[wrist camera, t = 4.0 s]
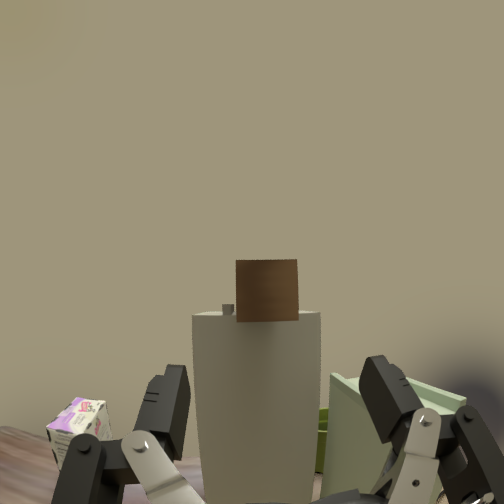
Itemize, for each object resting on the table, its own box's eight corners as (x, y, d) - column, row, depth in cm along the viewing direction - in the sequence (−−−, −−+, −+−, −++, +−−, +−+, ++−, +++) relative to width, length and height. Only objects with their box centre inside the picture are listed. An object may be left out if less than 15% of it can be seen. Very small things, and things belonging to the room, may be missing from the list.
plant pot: (367, 460, 38) (374, 413, 40) (326, 488, 31) (333, 438, 33) (324, 445, 47) (327, 402, 49) (282, 465, 41) (283, 419, 43)
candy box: (93, 471, 30) (76, 395, 33) (123, 475, 32) (107, 399, 35) (75, 512, 17) (43, 425, 20) (111, 520, 19) (82, 433, 22)
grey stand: (213, 541, 19) (191, 304, 25) (218, 495, 30) (207, 304, 37) (305, 537, 19) (320, 301, 25) (291, 492, 31) (295, 302, 37)
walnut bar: (236, 322, 15) (235, 260, 16) (238, 310, 40) (238, 287, 41) (298, 320, 15) (296, 259, 16) (262, 310, 41) (261, 287, 41)
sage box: (344, 589, 7) (402, 423, 12) (315, 522, 22) (330, 373, 27) (394, 572, 8) (466, 397, 12) (355, 513, 22) (378, 366, 27)
